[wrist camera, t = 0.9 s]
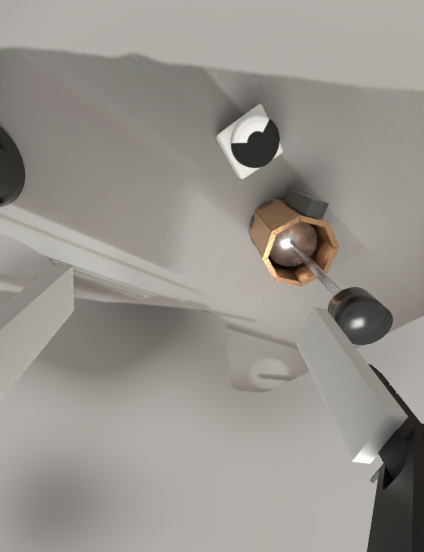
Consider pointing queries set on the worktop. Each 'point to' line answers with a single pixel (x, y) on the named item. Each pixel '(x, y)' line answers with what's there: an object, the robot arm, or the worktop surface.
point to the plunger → (334, 288)
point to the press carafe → (283, 216)
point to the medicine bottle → (250, 142)
